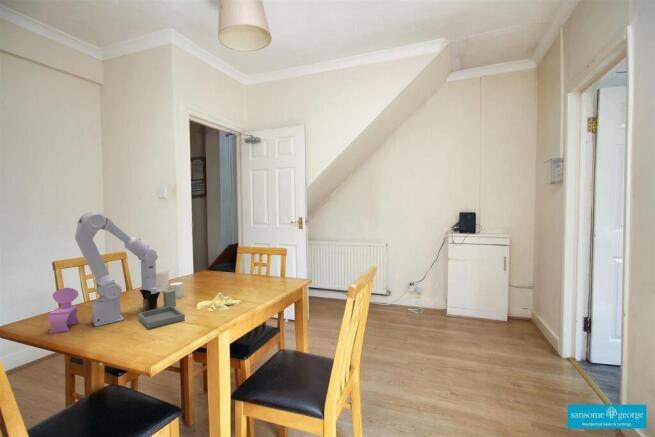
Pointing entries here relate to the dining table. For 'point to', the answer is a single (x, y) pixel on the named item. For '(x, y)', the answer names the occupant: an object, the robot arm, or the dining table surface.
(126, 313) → the dining table surface
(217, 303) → the cloth
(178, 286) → the shot glass
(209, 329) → the dining table surface
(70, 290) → the toy chair
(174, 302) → the tall block
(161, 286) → the white cup
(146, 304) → the short block
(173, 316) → the tray
